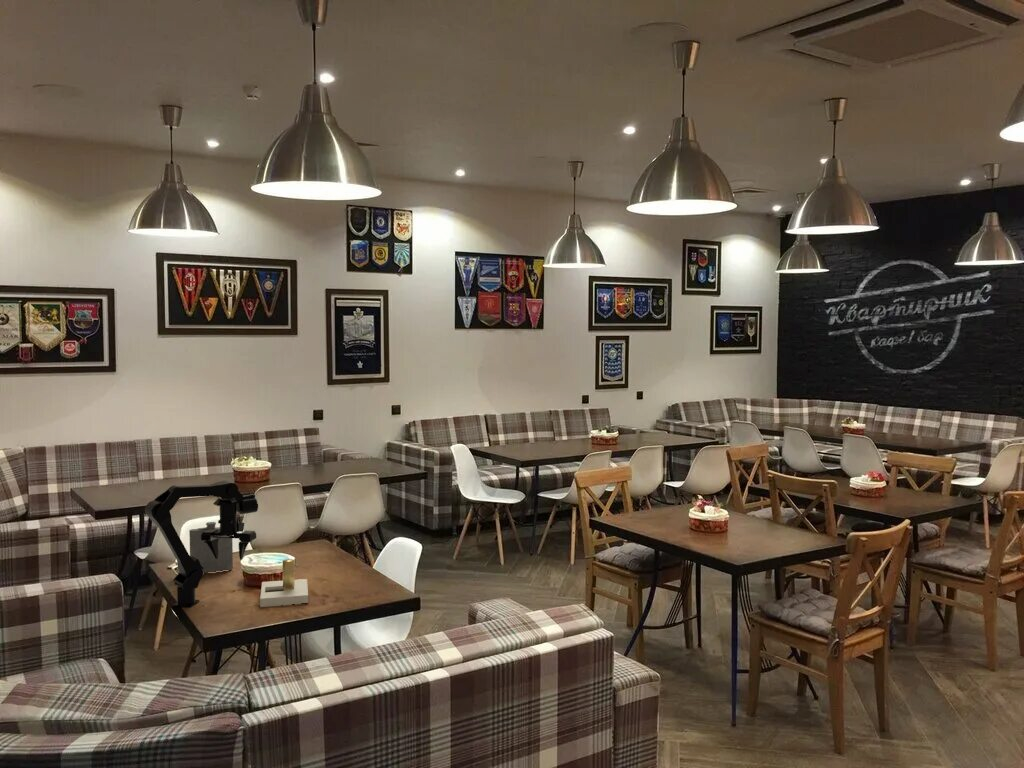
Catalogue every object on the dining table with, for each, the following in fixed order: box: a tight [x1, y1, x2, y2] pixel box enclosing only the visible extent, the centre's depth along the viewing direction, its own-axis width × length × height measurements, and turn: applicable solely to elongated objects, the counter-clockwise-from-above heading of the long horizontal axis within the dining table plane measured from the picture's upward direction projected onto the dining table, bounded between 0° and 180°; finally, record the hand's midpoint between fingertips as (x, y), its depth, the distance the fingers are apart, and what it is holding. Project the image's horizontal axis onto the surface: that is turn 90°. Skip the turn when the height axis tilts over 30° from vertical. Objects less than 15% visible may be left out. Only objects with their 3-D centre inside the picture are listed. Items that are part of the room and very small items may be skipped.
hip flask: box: [188, 521, 234, 573], centre depth 328 cm, size 16×4×20 cm, turn 114°
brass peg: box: [282, 558, 295, 590], centre depth 298 cm, size 5×5×13 cm
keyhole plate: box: [259, 578, 309, 608], centre depth 298 cm, size 16×20×3 cm
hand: (229, 559), depth 299 cm, fingers open, 9 cm apart
